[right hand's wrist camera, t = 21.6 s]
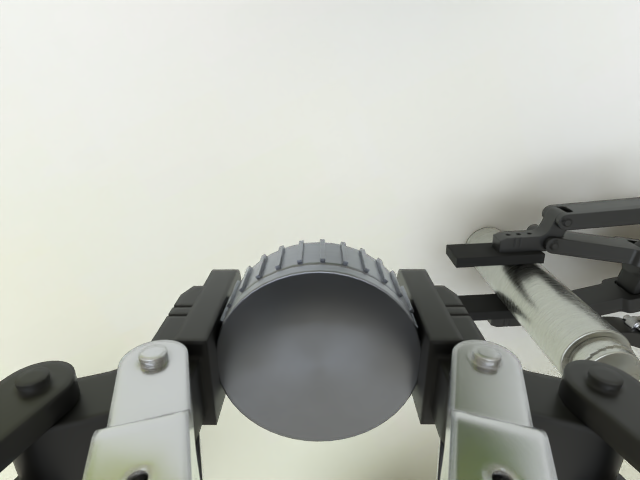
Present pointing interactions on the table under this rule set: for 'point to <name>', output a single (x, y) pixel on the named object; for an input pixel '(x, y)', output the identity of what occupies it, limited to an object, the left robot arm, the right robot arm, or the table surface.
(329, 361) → the lid
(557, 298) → the grey long cylinder
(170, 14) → the table surface
